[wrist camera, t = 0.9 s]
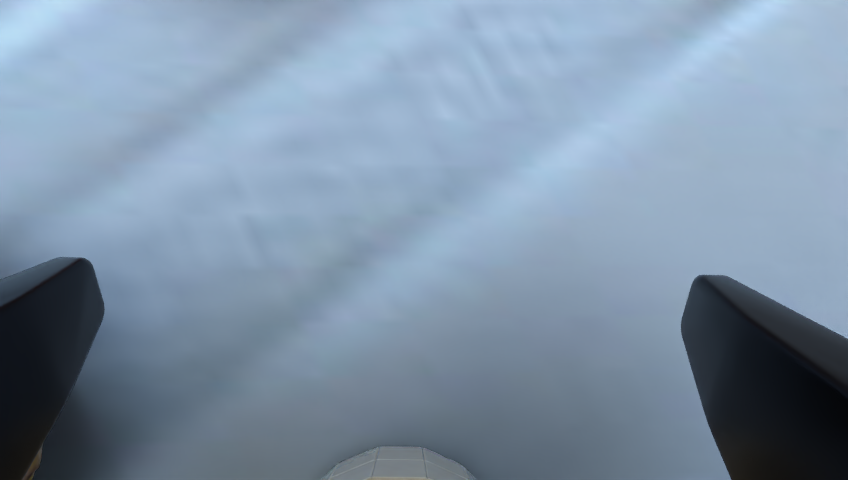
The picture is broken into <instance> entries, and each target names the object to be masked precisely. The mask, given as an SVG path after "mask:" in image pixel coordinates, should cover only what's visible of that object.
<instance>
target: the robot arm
mask: <svg viewBox="0 0 848 480" xmlns="http://www.w3.org/2000/svg"><path fill="white" fill-rule="evenodd" d="M103 316H104V302H103V298H102V295H101V292H100V288H99V285H98V281H97V278H96V275H95V271H94V268H93V266H92V264H91V262H90V261H89V260H87V259H85V258H75V257H59V258H55V259H52V260H50V261H47V262H45V263H42V264H40V265H37V266H35V267H32V268H29V269H27V270H24V271H22V272H19V273H17V274H14V275H12V276H9V277H7V278H4V279H2V280H0V480H23V478H24V476H25V475H26V473H27V471H28V469H29V468H30V466H31V464H32V462H33V461H34V459H35V457H36V455H37V454H38V452H39V450H40V448H41V447H42V445H43V443H44V441H45V440H46V438H47V436H48V434H49V433H50V431H51V429H52V427H53V426H54V424H55V422H56V421H57V419H58V417H59V415H60V413H61V411H62V409H63V408H64V406H65V404H66V402H67V399H68V397H69V395H70V393H71V391H72V389H73V387H74V384H75V382H76V380H77V377H78V375H79V373H80V371H81V368H82V366H83V364H84V361H85V359H86V357H87V354H88V352H89V350H90V348H91V345H92V343H93V341H94V338H95V336H96V334H97V331H98V329H99V327H100V325H101V322H102V320H103ZM681 333H682V338H683V341H684V345H685V348H686V351H687V355H688V358H689V362H690V365H691V369H692V372H693V375H694V379H695V382H696V386H697V389H698V392H699V396H700V399H701V403H702V406H703V409H704V412H705V416H706V419H707V422H708V424H709V427H710V429H711V432H712V435H713V437H714V439H715V442H716V444H717V447H718V449H719V451H720V454H721V456H722V458H723V461H724V463H725V465H726V468H727V470H728V472H729V475H730V477H731V479H732V480H848V339H847V338H845V337H843V336H841V335H839V334H837V333H835V332H833V331H831V330H829V329H828V328H826V327H824V326H822V325H820V324H818V323H816V322H814V321H812V320H810V319H808V318H806V317H805V316H803V315H801V314H799V313H797V312H795V311H793V310H791V309H789V308H787V307H785V306H783V305H782V304H780V303H778V302H776V301H774V300H772V299H770V298H768V297H766V296H764V295H762V294H760V293H759V292H757V291H755V290H753V289H751V288H749V287H747V286H745V285H743V284H741V283H739V282H737V281H736V280H734V279H732V278H730V277H728V276H723V275H699V276H698V277H696V278H695V279H694V281H693V283H692V286H691V289H690V292H689V296H688V299H687V303H686V306H685V310H684V313H683V317H682V321H681Z"/></svg>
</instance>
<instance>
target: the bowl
mask: <svg viewBox="0 0 848 480" xmlns="http://www.w3.org/2000/svg"><path fill="white" fill-rule="evenodd" d="M321 480H477V479H476V478H475V477H474V476H473V475H472V474H471V473H470V472H469V471H468V470H467V469H466V468H465V467H464V466H462V465H461V464H460V463H457V462H455V461H453V460H451V459H449V458H446V457H444V456H442V455H440V454H438V453H435V452H433V451H431V450H429V449H426V448H422V447H404V446H380V447H376V448H373V449H371V450H368V451H366V452H364V453H361V454H359V455H356V456H354V457H351V458H349V459H347V460H344V461H342V462H340V463H339V464H337V465H335V466H334V467H333V468H332V469H331V470H330V471H329V472H328V473H327V474H326V475H325V476H324V477H323V478H322V479H321Z"/></svg>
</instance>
